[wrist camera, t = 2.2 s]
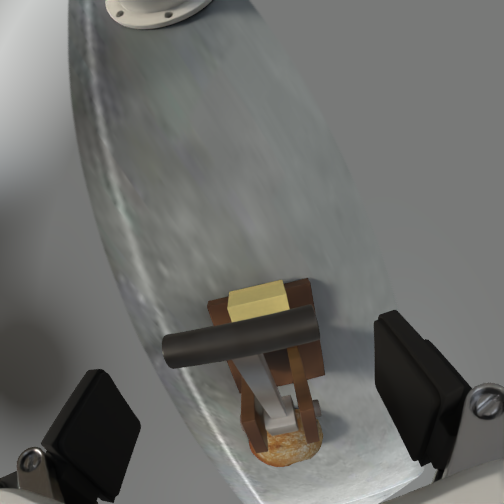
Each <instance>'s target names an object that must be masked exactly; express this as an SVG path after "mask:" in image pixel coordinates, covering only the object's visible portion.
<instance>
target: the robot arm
mask: <svg viewBox="0 0 504 504" xmlns="http://www.w3.org/2000/svg"><path fill="white" fill-rule="evenodd" d="M211 1H212V0H106V8H107V11H108V13H109V14H110V16H111V17H112V18H113V19H114V20H115V21H116V22H118V23H119V24H121V25H122V26H125V27H129V28H133V29H154V28H159V27H164V26H168V25H171V24H174V23H177V22H179V21H182V20H184V19H187V18H188V17H190V16H192V15H194V14H195V13H197V12H199V11H200V10H201V9H203V8H204V7H206V6H207V5H208V4H209V3H210V2H211ZM374 344H375V385H376V388H377V391H378V393H379V394H380V396H381V398H382V400H383V402H384V404H385V406H386V408H387V410H388V412H389V414H390V416H391V418H392V420H393V422H394V424H395V426H396V428H397V430H398V432H399V434H400V436H401V438H402V440H403V442H404V444H405V446H406V448H407V450H408V452H409V455H410V457H411V459H412V460H413V461H417V460H418V461H419V463H420V465H421V467H422V466H424V465H426V464H428V463H430V462H431V463H432V465H433V467H434V468H435V469H437V470H436V472H435V475H434V478H433V480H432V483H431V484H429V485H427V486H425V487H422V488H419V489H417V490H414V491H412V492H409V493H407V494H405V495H402V496H399V497H396V498H394V499H392V500H388V501H386V502H383V503H380V504H504V387H503V386H501V385H499V384H495V383H484V384H481V385H478V386H476V387H474V388H473V389H472V388H471V387H470V386H469V384H468V383H467V382H466V381H465V380H464V379H463V377H462V376H461V375H460V374H459V373H458V372H457V370H456V369H455V368H454V367H453V366H452V365H451V364H450V363H449V362H448V360H447V359H446V358H445V357H444V356H443V355H442V354H441V352H440V351H439V350H438V349H437V348H436V347H435V346H434V345H433V344H432V343H431V342H430V341H429V340H426V339H425V340H424V339H423V338H422V337H421V336H420V335H419V334H418V333H417V332H416V331H415V330H414V328H413V327H412V326H411V325H410V324H409V323H408V322H407V321H406V320H405V319H404V318H403V317H402V316H401V314H400V313H399V312H398V311H396V310H392V311H390V312H387V313H383V314H380V315H379V317H378V320H376V321H374ZM140 429H141V425H140V421H139V420H138V418H137V417H136V416H135V414H134V413H133V411H132V410H131V408H130V407H129V405H128V404H127V402H126V401H125V399H124V398H123V396H122V395H121V393H120V392H119V390H118V388H117V387H116V385H115V384H114V382H113V380H112V379H111V377H110V376H109V374H108V373H106V372H105V371H104V370H102V369H96V370H88V371H87V372H86V374H85V375H84V377H83V378H82V380H81V381H80V383H79V384H78V386H77V387H76V388H75V390H74V392H73V393H72V395H71V396H70V398H69V399H68V401H67V402H66V404H65V405H64V407H63V408H62V410H61V411H60V413H59V415H58V416H57V418H56V419H55V421H54V423H53V424H52V426H51V427H50V429H49V431H48V432H47V434H46V435H45V437H44V439H43V440H42V442H41V445H42V446H43V447H44V448H45V449H46V450H47V451H46V453H44V452H43V451H42V450H41V448H38V447H31V448H28V449H26V450H25V451H24V452H22V453H21V455H20V456H19V458H18V461H17V471H16V472H13V473H11V474H9V475H7V476H5V477H2V478H0V504H98V502H97V498H100V499H101V500H102V501H107V502H112V503H114V500H115V497H116V496H117V495H118V494H119V492H120V488H121V485H122V482H123V479H124V476H125V473H126V470H127V467H128V464H129V461H130V458H131V455H132V452H133V449H134V446H135V444H136V441H137V438H138V435H139V432H140Z"/></svg>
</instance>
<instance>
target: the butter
mask: <svg viewBox="0 0 504 504" xmlns="http://www.w3.org/2000/svg"><path fill="white" fill-rule="evenodd" d="M227 309H228V312H229V315H230V318H231V321H232V322H237V321H241V320H246V319H251V318H255V317H259V316H264V315H268V314H273V313H277V312H281V311H285V310H289V309H290V308H289V304H288V299H287V295H286V291H285V288H284V284H283V281H282V280H278V281H274V282H270V283H266V284H261V285H257V286H253V287H249V288H244V289H240V290H236V291H231V292H229V299H228V307H227Z"/></svg>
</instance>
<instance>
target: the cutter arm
mask: <svg viewBox="0 0 504 504" xmlns="http://www.w3.org/2000/svg"><path fill="white" fill-rule="evenodd" d="M319 339H320V332H319V326H318V322H317V318H316V314H315V311H314V308H313V306H312V305H311V304H309V305H305V306H301V307H297V308H293V309H289V310H285V311H281V312H277V313H273V314H268V315H264V316H259V317H255V318H251V319H246V320H241V321H237V322H232V323H227V324H222V325H217V326H212V327H207V328H202V329H196V330H191V331H186V332H180V333H174V334H168V335H165V336H164V338H163V341H162V351H163V356H164V359H165V361H166V363H167V365H168V366H169V367H170V368H173V369H174V368H182V367H189V366H196V365H202V364H209V363H215V362H221V361H227V360H232V361H233V363H234V364H235V366H236V367H237V369H238V370H239V372H240V373H241V375H242V376H243V378H244V379H245V381H246V382H247V384H248V385H249V387H250V388H251V390H252V391H253V393H254V394H255V396H256V397H257V399H258V400H259V402H260V403H261V405H262V409H263V416H264V422H265V429H266V430H267V431H268V432H269V433H270V434H271V435H272V436H274V435H279V434H285V433H290V432H295V431H298V430H299V428H298V423H297V418H296V413H295V408H294V404H293V401H292V398H291V395H288V396H283V397H281V395H280V393H279V390H278V388H277V386H276V383H275V381H274V379H273V376H272V374H271V372H270V369H269V367H268V365H267V362H266V360H265V357H264V355H263V353H267V352H272V351H276V350H281V349H285V348H289V347H294V346H298V345H302V344H306V343H310V342H314V341H317V340H319Z"/></svg>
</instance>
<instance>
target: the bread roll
mask: <svg viewBox="0 0 504 504" xmlns="http://www.w3.org/2000/svg"><path fill="white" fill-rule="evenodd" d="M295 413H296V418H297V423H298V428H299V430H298V431H295V432H290V433H285V434H279V435H274V436H272V435H271V434H270V433H269V432H268V431H267V439H268V452H262V453H256V452H255V450H254V448H253V446H252V444H251V442H250V440H249V446H250V449H251V451H252V453H253V454H254V455H255V456H256V457H257V458H258V459H259V460H261V461H262V462H264V463H266V464H268V465H271V466H275V467H284V466H289V465H291V464H293V463H296V462H299V461H303V460H307V459H311V458H312V457H313V456H314V455H315V454H316V453H317V452H318V451H319V449H320V447H321V444H322V439H323V433H322V429H321V426H320V424H319V421H318V419H316V421H317V427H318V433H319V439H320V441H318V442H314V443H310V444H307V442H306V437H305V433H304V429H303V425H302V420H301V416H300V412H299V409H295Z"/></svg>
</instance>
